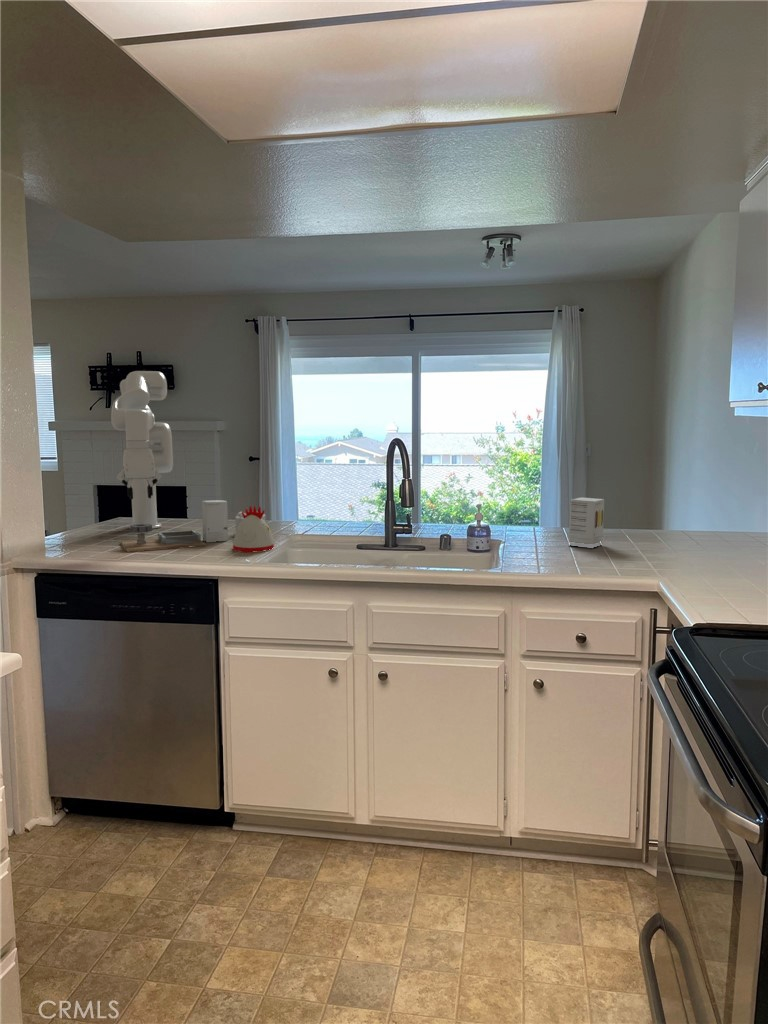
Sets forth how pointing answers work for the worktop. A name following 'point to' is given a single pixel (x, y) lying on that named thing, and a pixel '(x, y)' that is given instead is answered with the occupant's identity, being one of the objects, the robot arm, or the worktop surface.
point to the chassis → (164, 541)
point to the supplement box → (586, 520)
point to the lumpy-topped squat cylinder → (240, 517)
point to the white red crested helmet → (253, 533)
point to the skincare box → (215, 520)
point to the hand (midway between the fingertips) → (140, 497)
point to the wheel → (140, 528)
